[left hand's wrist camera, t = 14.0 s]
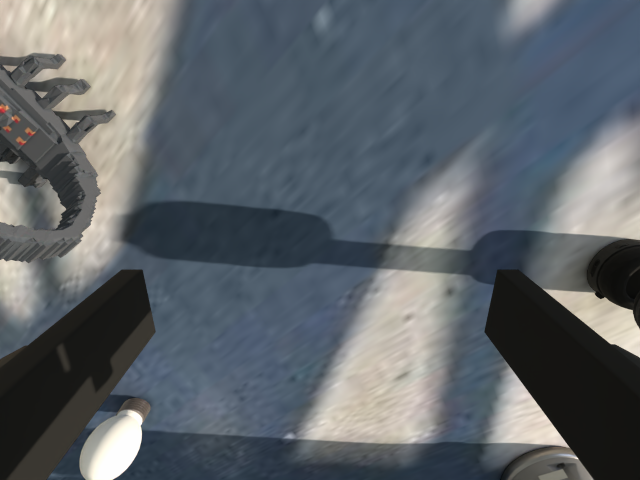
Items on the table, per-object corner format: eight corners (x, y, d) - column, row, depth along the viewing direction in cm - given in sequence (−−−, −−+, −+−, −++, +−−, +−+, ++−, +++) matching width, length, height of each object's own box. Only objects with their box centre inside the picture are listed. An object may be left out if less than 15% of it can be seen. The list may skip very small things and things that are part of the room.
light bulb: (151, 388, 51) (108, 458, 41) (164, 420, 53) (127, 494, 43) (108, 392, 51) (55, 463, 41) (123, 424, 54) (77, 499, 44)
